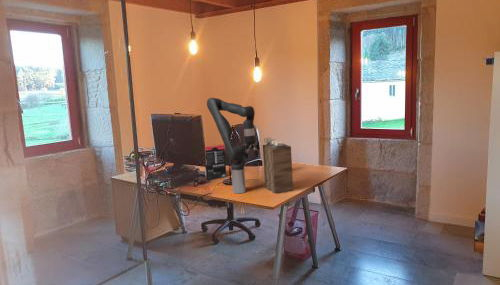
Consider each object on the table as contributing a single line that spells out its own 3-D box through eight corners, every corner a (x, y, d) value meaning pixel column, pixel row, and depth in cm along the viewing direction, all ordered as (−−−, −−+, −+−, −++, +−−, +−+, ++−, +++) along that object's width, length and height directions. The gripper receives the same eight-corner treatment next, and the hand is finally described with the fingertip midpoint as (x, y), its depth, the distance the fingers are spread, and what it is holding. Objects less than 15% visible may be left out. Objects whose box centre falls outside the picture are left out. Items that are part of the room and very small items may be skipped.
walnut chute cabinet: (265, 187, 284) (262, 143, 278) (282, 184, 288) (280, 140, 282) (275, 194, 267) (272, 147, 261) (293, 190, 272) (290, 144, 265)
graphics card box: (225, 175, 325) (222, 143, 319) (227, 177, 318) (224, 145, 313) (205, 178, 319) (202, 146, 314) (207, 180, 313) (204, 147, 308)
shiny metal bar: (264, 142, 288) (264, 138, 287) (269, 141, 289) (269, 137, 289) (277, 147, 266) (277, 143, 265) (282, 146, 267) (282, 142, 266)
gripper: (254, 132, 277) (256, 154, 280) (238, 136, 269) (240, 158, 271) (260, 133, 271) (262, 155, 274) (244, 136, 263) (246, 159, 265)
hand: (251, 157), depth 273 cm, fingers open, 8 cm apart
